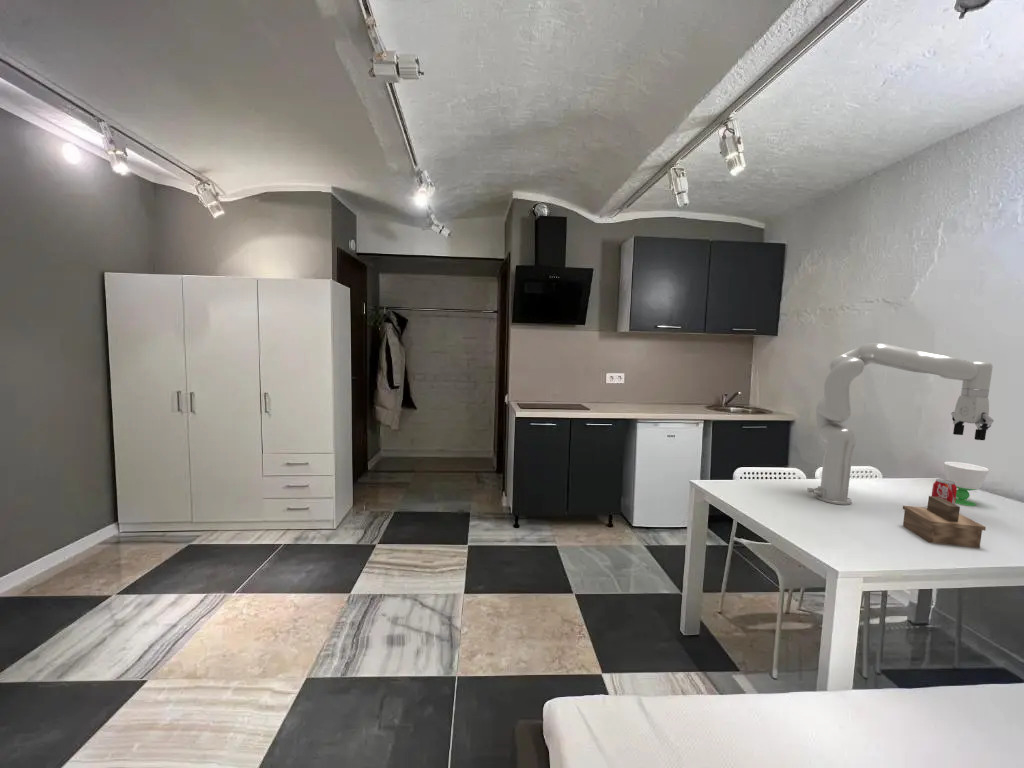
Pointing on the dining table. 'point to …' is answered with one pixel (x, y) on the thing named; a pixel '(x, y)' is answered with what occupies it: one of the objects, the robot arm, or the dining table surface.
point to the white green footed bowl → (965, 479)
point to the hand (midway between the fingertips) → (968, 437)
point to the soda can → (944, 490)
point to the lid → (943, 514)
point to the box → (942, 532)
